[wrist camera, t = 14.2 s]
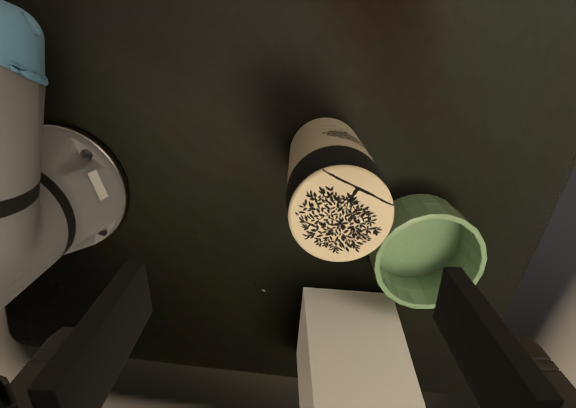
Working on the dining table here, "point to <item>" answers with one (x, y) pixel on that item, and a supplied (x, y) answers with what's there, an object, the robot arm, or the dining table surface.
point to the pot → (425, 250)
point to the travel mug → (336, 193)
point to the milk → (353, 352)
